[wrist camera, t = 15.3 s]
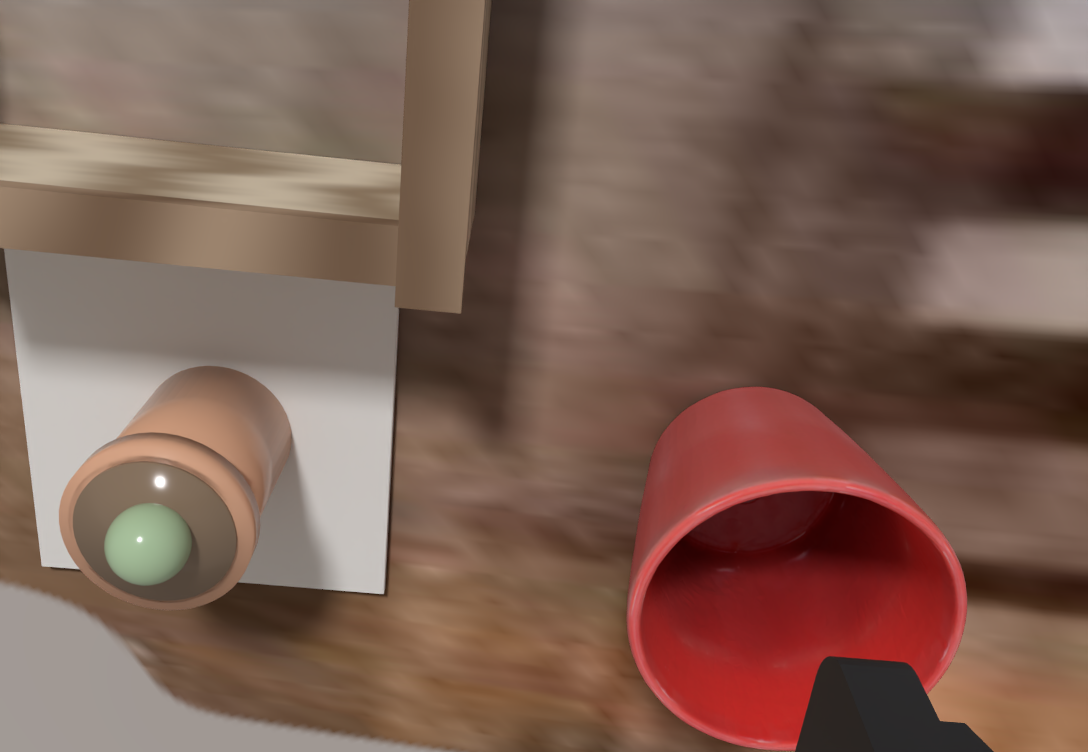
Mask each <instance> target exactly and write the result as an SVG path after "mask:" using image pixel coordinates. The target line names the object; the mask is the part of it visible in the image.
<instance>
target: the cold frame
mask: <svg viewBox="0 0 1088 752" xmlns="http://www.w3.org/2000/svg"><path fill="white" fill-rule="evenodd" d="M491 3H492V0H409V15H408V36H407V57H406V77H405V98H404V119H403V140H402V161H401V165H398V164H388V163H379V162H369V161H359V160H350V159H340V158H330V157H321V156H311V155H301V154H291V153H282V152H272V151H262V150H253V149H243V148H233V147H223V146H214V145H204V144H194V143H185V142H175V141H165V140H155V139H146V138H136V137H126V136H117V135H107V134H97V133H87V132H78V131H68V130H58V129H49V128H39V127H29V126H19V125H10V124H0V248H5V249H16V250H26V251H36V252H47V253H57V254H67V255H77V256H88V257H98V258H108V259H119V260H129V261H139V262H150V263H160V264H170V265H181V266H191V267H201V268H211V269H222V270H232V271H242V272H253V273H263V274H273V275H284V276H294V277H304V278H314V279H325V280H335V281H345V282H356V283H366V284H376V285H387V286H395V307H397V308H407V309H418V310H428V311H438V312H449V313H459V314H461V310H462V303H463V291H464V278H465V265H466V256H467V251H468V246H469V241H470V236H471V231H472V225H473V220H474V215H475V204H476V192H477V179H478V166H479V154H480V141H481V129H482V116H483V104H484V91H485V79H486V66H487V54H488V41H489V29H490V16H491Z"/></svg>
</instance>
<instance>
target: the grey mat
mask: <svg viewBox="0 0 1088 752" xmlns="http://www.w3.org/2000/svg"><path fill="white" fill-rule="evenodd" d="M4 253H5V262H6V270H7V279H8V287H9V295H10V304H11V312H12V320H13V329H14V337H15V346H16V354H17V362H18V371H19V379H20V387H21V396H22V404H23V412H24V421H25V429H26V438H27V446H28V454H29V463H30V471H31V479H32V488H33V496H34V504H35V513H36V521H37V530H38V538H39V546H40V555H41V563H42V566H46V567H59V568H71V569H79V567H78V566H77V565H76V564H75V562H74V561H73V559H72V558H71V556H70V555H69V553H68V551H67V549H66V547H65V544H64V542H63V539H62V536H61V532H60V526H59V507H60V501H61V498H62V495H63V492H64V490H65V488H66V486H67V484H68V482H69V481H70V479H71V478H72V477H73V476H74V474H75V473H76V472H77V471H78V469H79V468H80V467H81V466H82V465H83V463H84V462H85V461H86V460H87V459H88V457H90V456H91V455H92V454H93V453H94V452H95V451H96V450H97V449H99V448H100V447H102V446H103V445H105V444H107V443H109V442H111V441H113V440H115V439H116V438H117V437H118V436H119V435H120V433H121V432H122V431H123V430H124V429H125V427H126V426H127V425H128V424H129V422H130V421H131V420H132V419H133V417H134V416H135V415H136V414H137V413H138V411H139V410H140V409H141V408H142V406H143V405H144V404H145V403H146V401H147V400H148V399H149V398H150V397H151V395H152V394H153V393H154V392H155V390H156V389H157V388H158V387H159V386H160V385H161V384H162V383H163V382H164V381H165V380H166V379H168V378H169V377H171V376H172V375H174V374H176V373H178V372H180V371H183V370H186V369H189V368H193V367H198V366H220V367H226V368H230V369H234V370H237V371H240V372H242V373H244V374H247V375H249V376H251V377H252V378H254V379H256V380H257V381H259V382H260V383H261V384H263V385H264V386H265V387H266V388H268V389H269V390H270V391H271V392H272V393H273V394H274V396H275V397H276V398H277V399H278V401H279V402H280V404H281V405H282V407H283V408H284V410H285V412H286V414H287V417H288V420H289V423H290V428H291V435H292V443H291V450H290V454H289V457H288V459H287V462H286V464H285V466H284V468H283V470H282V473H281V475H280V477H279V479H278V481H277V483H276V485H275V487H274V490H273V492H272V494H271V496H270V498H269V500H268V502H267V504H266V507H265V509H264V511H263V513H262V515H261V517H260V536H259V540H258V543H257V546H256V549H255V551H254V553H253V555H252V558H251V560H250V562H249V564H248V566H247V569H246V571H245V573H244V574H243V576H242V577H241V579H240V580H239V581H238V582H241V583H254V584H266V585H278V586H290V587H302V588H314V589H327V590H339V591H351V592H363V593H375V594H384V591H385V583H386V563H387V543H388V524H389V504H390V484H391V464H392V444H393V424H394V404H395V384H396V364H397V344H398V324H399V308H397V307H395V286H387V285H376V284H366V283H356V282H345V281H335V280H325V279H314V278H304V277H294V276H284V275H273V274H263V273H253V272H242V271H232V270H222V269H211V268H201V267H191V266H181V265H170V264H160V263H150V262H139V261H129V260H119V259H108V258H98V257H88V256H77V255H67V254H57V253H47V252H36V251H26V250H16V249H5V248H4Z"/></svg>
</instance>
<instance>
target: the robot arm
mask: <svg viewBox="0 0 1088 752" xmlns="http://www.w3.org/2000/svg"><path fill="white" fill-rule="evenodd" d="M795 752H993V751H992V750H991V749H990V748H989V747H988V746H987V745H986V744H985V743H984V742H983V741H982V740H981V739H980V738H979V737H978V736H977V735H976V734H975V733H974V732H973V731H972V730H971V729H970V728H969V727H968V726H967V725H966V724H965V723H956V722H943V721H940V720H939V718H938V716H937V714H936V712H935V710H934V708H933V706H932V704H931V702H930V700H929V698H928V696H927V694H926V692H925V690H924V688H923V686H922V684H921V682H920V679H919V677H918V675H917V674H916V672H915V670H914V669H913V668H912V667H911V666H910V665H909V664H908V663H905V662H897V661H885V660H872V659H860V658H847V657H835V656H828V657H826V658H825V659H824V660H823V661H822V662H821V664H820V666H819V668H818V671H817V674H816V677H815V681H814V685H813V688H812V692H811V695H810V699H809V703H808V706H807V710H806V713H805V717H804V721H803V724H802V728H801V732H800V735H799V739H798V742H797V746H796V750H795Z"/></svg>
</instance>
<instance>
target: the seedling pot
mask: <svg viewBox="0 0 1088 752" xmlns="http://www.w3.org/2000/svg"><path fill="white" fill-rule="evenodd" d="M291 443H292V435H291V428H290V423H289V420H288V417H287V414H286V412H285V410H284V408H283V407H282V405H281V404H280V402H279V401H278V399H277V398H276V397H275V396H274V394H273V393H272V392H271V391H270V390H269V389H268V388H266V387H265V386H264V385H263V384H261V383H260V382H259V381H257V380H256V379H254V378H252V377H251V376H249V375H247V374H244V373H242V372H240V371H237V370H234V369H230V368H226V367H220V366H198V367H193V368H189V369H186V370H183V371H180V372H178V373H176V374H174V375H172V376H171V377H169V378H168V379H166V380H165V381H164V382H163V383H162V384H161V385H160V386H159V387H158V388H157V389H156V390H155V392H154V393H153V394H152V395H151V397H150V398H149V399H148V400H147V401H146V403H145V404H144V405H143V406H142V408H141V409H140V410H139V411H138V413H137V414H136V415H135V416H134V417H133V419H132V420H131V421H130V422H129V424H128V425H127V426H126V427H125V429H124V430H123V431H122V432H121V433H120V435H119V436H118V437H117V438H116V439H115V440H113V441H111V442H109V443H107V444H105V445H103V446H102V447H100V448H99V449H97V450H96V451H95V452H94V453H93V454H92V455H91V456H90V457H88V459H87V460H86V461H85V462H84V463H83V465H82V466H81V467H80V468H79V469H78V471H77V472H76V473H75V474H74V476H73V477H72V478H71V479H70V481H69V482H68V484H67V486H66V488H65V490H64V492H63V495H62V498H61V501H60V507H59V526H60V532H61V536H62V539H63V542H64V544H65V547H66V549H67V551H68V553H69V555H70V556H71V558H72V559H73V561H74V562H75V564H76V565H77V566H78V567H79V569H80V570H81V571H82V572H83V573H84V574H85V575H86V576H87V577H88V578H89V579H90V580H91V581H92V582H93V583H95V584H96V585H97V586H99V587H100V588H101V589H103V590H104V591H106V592H108V593H109V594H111V595H113V596H115V597H117V598H119V599H121V600H123V601H126V602H128V603H131V604H134V605H137V606H141V607H145V608H150V609H157V610H184V609H190V608H195V607H199V606H202V605H205V604H208V603H210V602H212V601H214V600H216V599H218V598H220V597H221V596H223V595H225V594H226V593H227V592H228V591H229V590H231V589H232V588H233V587H234V586H235V585H236V584H237V582H238V581H239V580H240V579H241V577H242V576H243V574H244V573H245V571H246V569H247V566H248V564H249V562H250V560H251V558H252V555H253V553H254V551H255V549H256V546H257V543H258V540H259V536H260V517H261V515H262V513H263V511H264V509H265V507H266V504H267V502H268V500H269V498H270V496H271V494H272V492H273V490H274V487H275V485H276V483H277V481H278V479H279V477H280V475H281V473H282V470H283V468H284V466H285V464H286V462H287V459H288V457H289V454H290V450H291Z"/></svg>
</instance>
